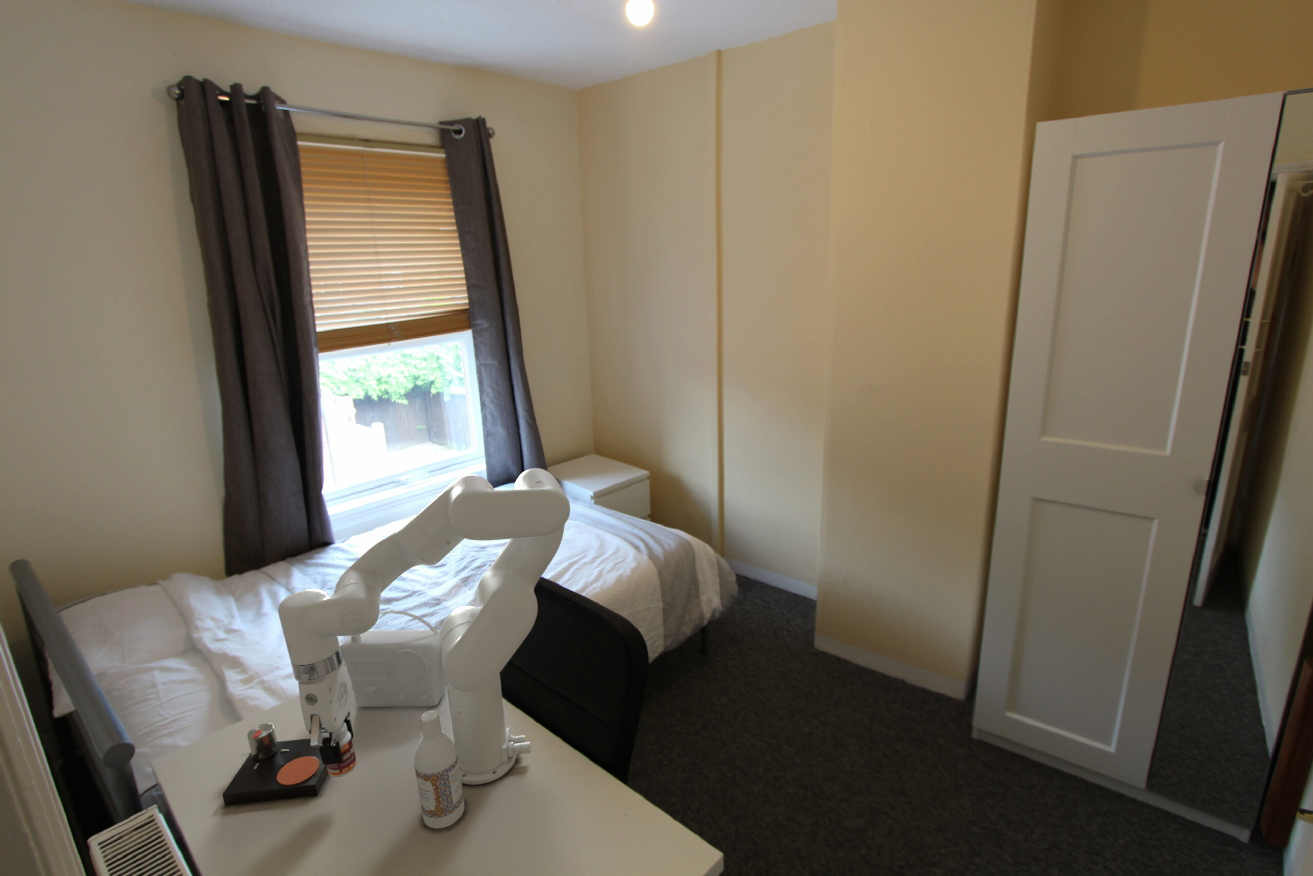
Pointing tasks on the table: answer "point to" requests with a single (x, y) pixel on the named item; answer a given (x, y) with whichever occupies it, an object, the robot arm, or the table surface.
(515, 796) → the table surface
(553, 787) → the table surface
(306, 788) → the hob
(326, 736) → the pill bottle
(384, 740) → the table surface
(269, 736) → the hob knob
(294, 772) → the burner ring
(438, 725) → the bath foam
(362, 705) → the radio
